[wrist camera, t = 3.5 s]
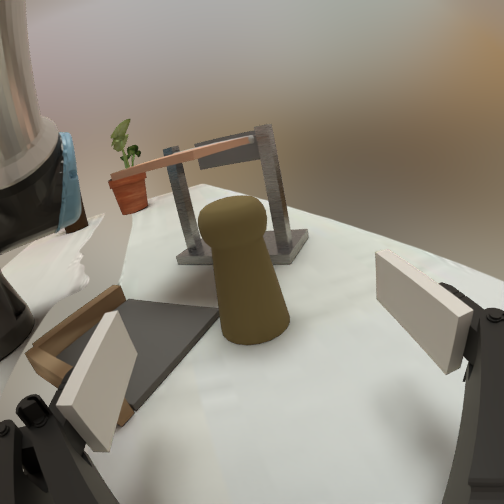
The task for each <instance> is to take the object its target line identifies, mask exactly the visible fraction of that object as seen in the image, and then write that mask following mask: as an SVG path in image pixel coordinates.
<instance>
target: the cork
mask: <svg viewBox="0 0 504 504" xmlns="http://www.w3.org/2000/svg"><path fill="white" fill-rule="evenodd" d="M266 226H267V215H266V210H265V208H264V206H263V204H262V203H261V202H260V201H259V200H258V199H257V198H255V197H252V196H231V197H226V198H223V199H219V200H217V201H214V202H212V203H210V204H208V205H206V206H205V207H204V208H203V209H202V210H201V211H200V214H199V217H198V227H199V231H200V234H201V237H202V238H203V240H204V242H205V243H206V244H207V245H208V246H210V247H211V251H212V259H213V268H214V276H215V284H216V292H217V299H218V307H219V314H220V322H221V329H222V333H223V336H224V337H225V338H226V339H227V340H228V341H230V342H233V343H236V344H242V345H253V344H260V343H263V342H267V341H270V340H272V339H274V338H275V337H277V336H279V335H281V334H282V333H283V332H284V331H285V330H286V329H287V327H288V325H289V323H290V316H289V313H288V310H287V307H286V304H285V301H284V298H283V295H282V292H281V288H280V285H279V282H278V279H277V276H276V273H275V270H274V267H273V264H272V261H271V258H270V255H269V252H268V249H267V246H266V243H265V240H264V238H263V235H264V233H265V231H266Z"/></svg>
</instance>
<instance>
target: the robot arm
mask: <svg viewBox="0 0 504 504" xmlns="http://www.w3.org/2000/svg"><path fill="white" fill-rule="evenodd" d="M25 2H26V1H25V0H0V255H2V254H4V253H6V252H8V251H11V250H13V249H15V248H18V247H20V246H23V245H25V244H27V243H30V242H33V241H35V240H38V239H40V238H43V237H45V236H48V235H50V234H53V233H57V232H58V231H59V230H60V229H63V228H65V227H67V226H69V225H71V224H73V223H75V222H76V221H77V220H78V219H79V217H80V215H81V209H82V207H81V195H80V187H79V180H78V176H77V168H76V159H75V152H74V146H73V141H72V137H71V135H70V133H68V132H65V133H63V132H60V133H58V129H57V126H56V125H55V123H54V122H53V121H52V120H51V119H49V118H46V117H43V116H41V113H40V109H39V104H38V99H37V94H36V89H35V84H34V78H33V72H32V65H31V59H30V51H29V42H28V33H27V20H26V3H25ZM375 258H376V294H377V300H378V301H379V302H380V303H381V304H382V306H383V307H384V308H385V309H386V310H387V311H388V312H389V313H390V314H391V315H392V316H393V317H394V318H395V319H396V320H397V321H398V322H399V324H400V325H401V326H402V327H403V328H404V329H405V330H406V331H407V332H408V333H409V334H410V335H411V337H412V338H413V339H414V340H415V341H416V342H417V343H418V344H419V345H420V346H421V348H422V349H423V350H424V351H425V352H426V353H427V354H428V355H429V356H430V358H431V359H432V360H433V361H434V362H435V363H436V364H437V366H438V367H439V368H440V369H441V370H442V371H443V372H444V374H445V375H447V374H449V373H451V372H453V371H455V370H457V369H459V368H460V367H461V363H462V359H463V356H464V357H465V358H466V359H467V360H468V361H469V362H468V365H467V369H466V372H465V375H464V378H463V382H465V380H466V384H465V394H464V403H463V410H462V417H461V424H460V430H459V436H458V441H457V446H456V451H455V455H454V460H453V464H452V468H451V472H450V476H449V480H448V484H447V487H446V491H445V494H444V497H443V500H442V504H504V311H503V310H500V309H497V308H487V309H485V310H484V309H483V308H482V307H480V306H479V305H478V304H476V303H475V302H474V301H472V300H471V299H470V298H468V297H467V296H466V297H465V295H464V294H463V293H461V292H459V291H458V290H457V289H456V288H454V287H453V286H451V285H448V284H445V283H442V282H441V283H437V282H435V281H434V280H433V279H431V278H430V277H428V276H427V275H426V274H424V273H423V272H421V271H420V270H418V269H417V268H416V267H414V266H413V265H411V264H410V263H408V262H407V261H405V260H404V259H403V258H401V257H400V256H398V255H397V254H395V253H394V252H392V251H391V250H389V249H385V250H381V251H377V252H375ZM33 325H34V317H33V315H32V313H31V311H30V309H29V307H28V305H27V304H26V303H25V301H24V300H23V299H22V298H21V297H20V296H19V294H18V293H17V292H16V291H15V290H14V288H13V287H12V286H11V285H10V283H9V282H8V281H7V280H6V278H5V277H4V276H3V274H2V272H1V269H0V359H2V358H3V357H5V356H6V355H8V354H9V353H10V352H12V351H13V350H14V349H15V348H16V347H17V346H18V345H19V344H20V343H21V342H22V341H23V340H24V339H25V338H26V337H27V336H28V334H29V333H30V331H31V330H32V328H33ZM137 354H138V353H137V351H136V349H135V347H134V345H133V343H132V341H131V339H130V337H129V334H128V332H127V330H126V328H125V326H124V323H123V321H122V319H121V316H120V314H119V312H118V311H113V312H107V313H105V314H104V316H103V318H102V319H101V321H100V323H99V324H98V326H97V328H96V330H95V331H94V333H93V335H92V337H91V338H90V340H89V342H88V344H87V346H86V347H85V349H84V351H83V353H82V355H81V357H80V358H79V360H78V362H77V364H76V366H75V367H72V368H71V369H70V370H69V371H68V372H67V373H66V374H65V376H64V378H63V380H62V381H61V384H60V385H59V387H58V390H57V391H56V393H55V395H54V397H53V399H52V401H51V403H50V405H49V407H48V406H47V405H46V404H45V402H44V401H43V400H42V398H41V397H40V396H39V395H37V394H33V395H29V396H27V397H25V398H24V399H22V400H21V401H20V403H19V404H18V405H17V408H16V414H17V415H18V416H19V418H20V419H21V420H22V421H23V423H24V424H25V425H26V426H24V427H20V428H18V427H17V426H16V425H15V424H14V422H13V421H12V420H4V421H2V422H0V504H119V502H118V501H117V499H116V498H115V497H114V495H113V494H112V492H111V491H110V489H109V488H108V486H107V485H106V483H105V482H104V480H103V479H102V477H101V475H100V474H99V472H98V471H97V469H96V467H95V466H94V464H93V462H92V461H91V459H90V457H89V455H88V454H87V453H86V452H85V451H84V448H85V445H86V444H87V445H88V446H89V447H90V448H91V449H92V450H93V452H110V448H111V444H112V440H113V436H114V432H115V429H116V425H117V421H118V418H119V414H120V410H121V407H122V403H123V400H124V396H125V393H126V390H127V386H128V383H129V380H130V376H131V373H132V370H133V367H134V364H135V360H136V357H137ZM22 468H23V469H24V472H23V469H22Z"/></svg>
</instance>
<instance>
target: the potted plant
mask: <svg viewBox="0 0 504 504" xmlns="http://www.w3.org/2000/svg"><path fill="white" fill-rule="evenodd" d="M129 123H130V119H127V120H125V121H123V122H122V123H120V124H119V125H118V126H117V127H116V129H115V130H114V132H113V134H112V135H111V138H113V142H112V145H114V148H113V149H115V150H116V151H118V152H119V151H121V150H122V152H123V156H122V157H120V158H121V159H122V160H123V161H124V163H125V168H126V169H127V168H130V166H129V163H128V159H129V158H130V156H131V154H132V155H133V161H134V157H135V155H134V154H136V155H137V156H138V157H139V156H140V154H141V152H140V151H138V146H137V145H132V146H130V147H128V148H127V153H128V155H127V156H126V154H125V152H124V149H123V148H124V147H125V144H126V142H127V138H128V134H127V135H125V133H126V130H127V128H128V126H129ZM133 161H132V167H133ZM145 178H146V173H145V172H143V173H139V174H136V175H132V176H129V177H125V178H122V179H118V180H115V181H112V179H110V180H109V182H108V183H109V186H110V189H111V188H112V190H113V192H114V195H115V197H116V200H117V202H118V205H119V207H120V210H121V212H122V214H123V215H127V214H132V213H135V212H137V211H139V210H141V209H143V208H145V207H146V206H148V202H147V194H146V187H145Z"/></svg>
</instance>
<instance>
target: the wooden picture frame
mask: <svg viewBox="0 0 504 504" xmlns="http://www.w3.org/2000/svg"><path fill="white" fill-rule="evenodd" d="M125 301H126V298H125V296H124V293H123V291H122V288H121V286H118V285H112V286H111V287H109V288H108V289H107V290H105V291H104V292H102V293H101V294H99V295H98V296H97V297H95V298H94V299H92V300H91V301H90V302H88V303H87V304H85V305H84V306H83V307H81V308H80V309H78V310H77V311H76V312H74V313H73V314H72V315H70V316H69V317H68V318H66V319H65V320H63V321H62V322H61V323H59V324H58V325H57V326H55V327H54V328H53V329H51V330H50V331H49V332H47V333H46V334H45V335H43V336H42V337H41V338H39V339H38V340H37V341H35V342H34V343H33V344H32V345H33V346H34V347H33V348H31V349H30V350H28V351H27V352H26V353H25V355H26V357H27V358H28V360H29V362H30V363H31V365H32V367H33V368H34V370H35V371H36V373H37V374H38V375H40V376H41V377H42V378H44V379H45V380H46V381H48V382H50V383H51V384H52V385H54V386H55V387H56V388H58V387H59V385H60V384H61V381H62V380H63V378H64V376H65V374H66V373H67V372H68V371H69V370H70V369H71V368H72V367H73V366H71V365H69V364H67V363H65V362H63V361H61V360H59V359H57V358H56V356H57V355H58V354H60V353H61V352H62V351H63V350H64V349H66V348H67V347H68V346H69V345H71V344H72V343H73V342H74V341H76V340H77V339H78V338H79V337H81V336H82V335H83V334H84V333H86V332H87V331H88V330H89V329H91V328H92V327H93V326H94V325H96V324H97V323H98V322H99V321H101V319H102V318H103V316H104V314H105V313H107V312H112V311H114V310H115V309H116V308H117V307H119V306H120V305H121V304H123V303H124V302H125ZM133 414H134V411H133V410H132V408H131V407H130V405H129V404H128V402H127V400H126V399H125V397H124V400H123V403H122V407H121V410H120V414H119V418H118V421H117V424H118V425H120V426H121V427H122V426H123V425H124V424H125V423H126V422H127V421H128V420H129V418H130V417H131V416H132V415H133Z"/></svg>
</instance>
